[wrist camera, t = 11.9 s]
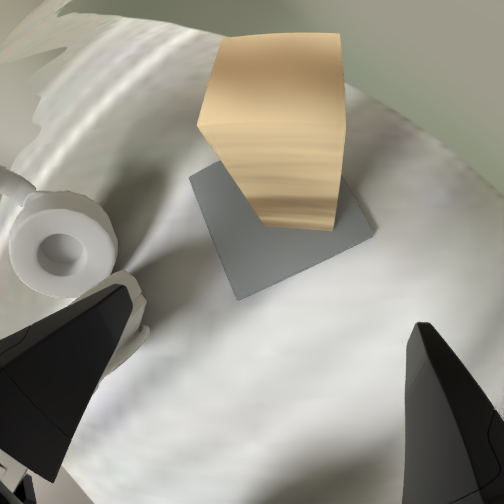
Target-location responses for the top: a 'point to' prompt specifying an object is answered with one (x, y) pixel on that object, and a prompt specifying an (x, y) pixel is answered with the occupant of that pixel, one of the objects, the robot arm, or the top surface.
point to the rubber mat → (269, 234)
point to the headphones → (69, 253)
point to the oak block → (280, 124)
